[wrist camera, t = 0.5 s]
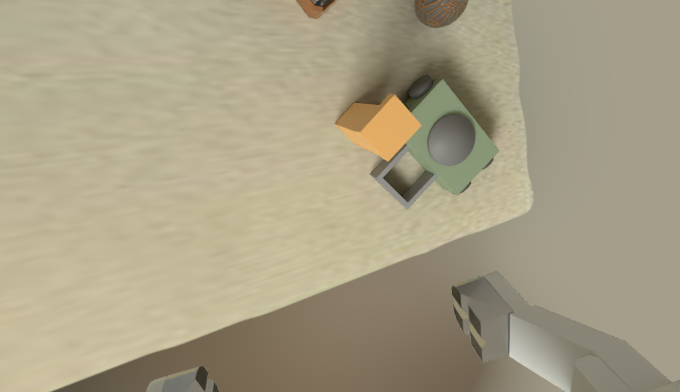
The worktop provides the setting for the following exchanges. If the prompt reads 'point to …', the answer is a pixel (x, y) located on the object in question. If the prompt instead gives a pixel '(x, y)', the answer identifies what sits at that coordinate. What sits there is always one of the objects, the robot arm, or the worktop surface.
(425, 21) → the vase
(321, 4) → the whiskey bottle
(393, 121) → the orange capped pillar
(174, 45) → the worktop surface
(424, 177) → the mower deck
